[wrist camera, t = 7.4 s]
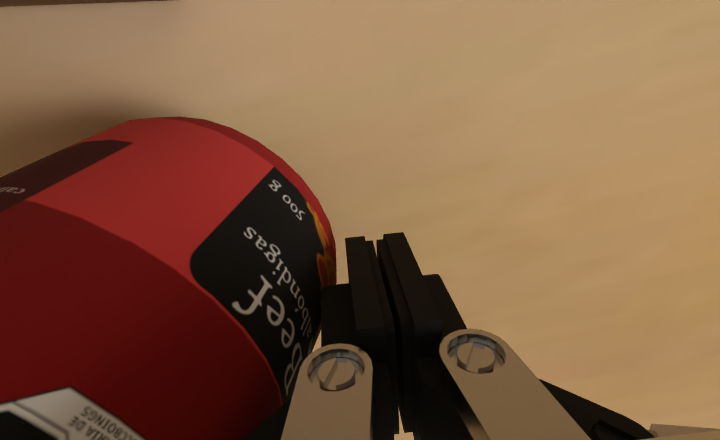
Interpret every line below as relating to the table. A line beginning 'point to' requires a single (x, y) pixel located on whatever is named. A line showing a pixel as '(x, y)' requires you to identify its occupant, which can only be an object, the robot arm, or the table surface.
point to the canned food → (157, 285)
